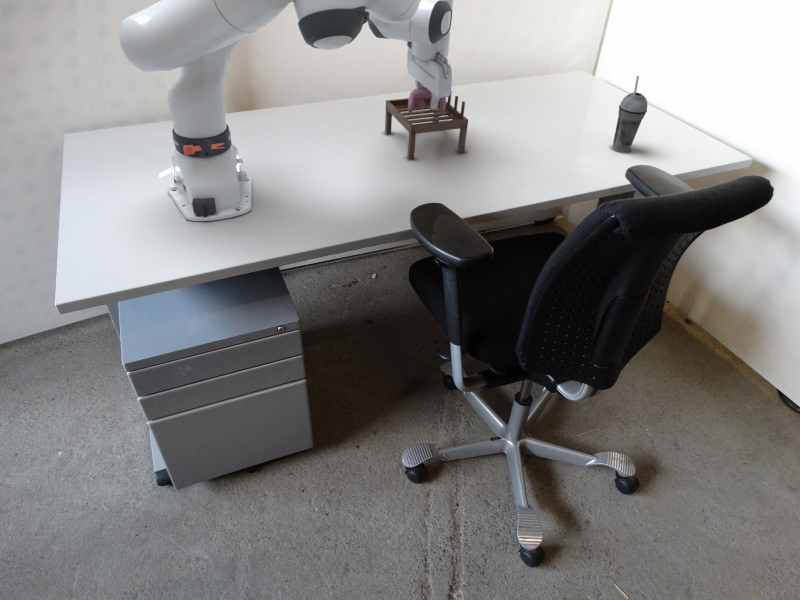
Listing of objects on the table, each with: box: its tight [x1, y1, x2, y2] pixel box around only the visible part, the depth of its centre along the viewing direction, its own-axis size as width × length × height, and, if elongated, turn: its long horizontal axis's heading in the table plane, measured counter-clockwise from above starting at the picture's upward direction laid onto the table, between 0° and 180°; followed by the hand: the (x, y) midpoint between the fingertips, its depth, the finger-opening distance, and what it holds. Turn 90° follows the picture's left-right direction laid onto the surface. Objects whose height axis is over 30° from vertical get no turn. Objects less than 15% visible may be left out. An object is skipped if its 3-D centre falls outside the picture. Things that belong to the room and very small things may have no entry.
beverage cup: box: [611, 75, 648, 154], centre depth 157 cm, size 7×7×20 cm
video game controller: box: [407, 87, 447, 115], centre depth 153 cm, size 10×5×7 cm, turn 85°
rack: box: [384, 90, 469, 161], centre depth 157 cm, size 18×16×13 cm
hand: (426, 102), depth 153 cm, fingers closed on video game controller, 7 cm apart
